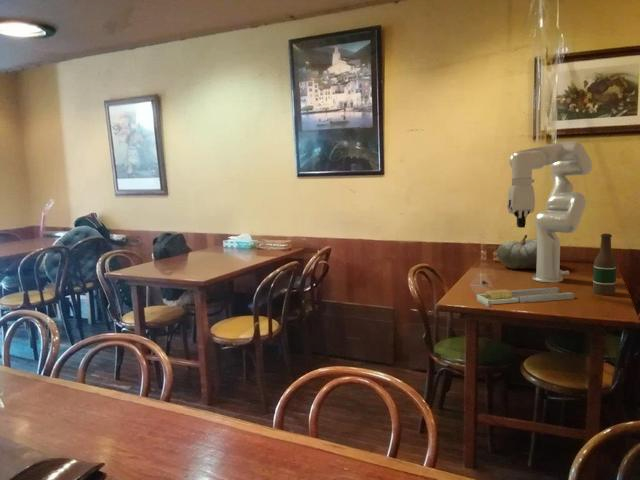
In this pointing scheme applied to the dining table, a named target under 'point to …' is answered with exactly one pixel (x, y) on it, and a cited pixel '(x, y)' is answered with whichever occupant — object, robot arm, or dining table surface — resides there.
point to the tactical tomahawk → (484, 284)
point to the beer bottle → (604, 269)
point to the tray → (484, 296)
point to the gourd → (519, 254)
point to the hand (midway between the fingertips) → (521, 227)
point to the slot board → (540, 294)
